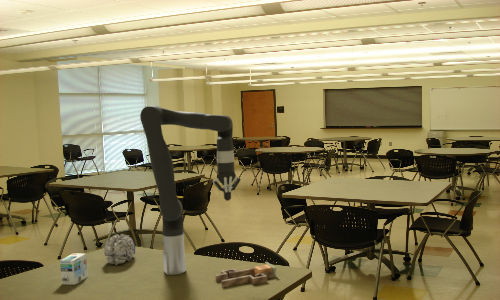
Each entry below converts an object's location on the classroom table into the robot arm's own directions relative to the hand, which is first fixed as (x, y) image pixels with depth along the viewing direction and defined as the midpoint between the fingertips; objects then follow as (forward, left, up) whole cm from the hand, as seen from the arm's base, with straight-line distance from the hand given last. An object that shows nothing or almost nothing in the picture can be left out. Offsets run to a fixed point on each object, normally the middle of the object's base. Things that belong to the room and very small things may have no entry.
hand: (227, 200), depth 204 cm
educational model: (-42, +42, -32) cm, 68 cm away
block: (+10, -13, -32) cm, 36 cm away
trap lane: (+2, -12, -32) cm, 34 cm away
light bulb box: (-64, +25, -32) cm, 76 cm away
